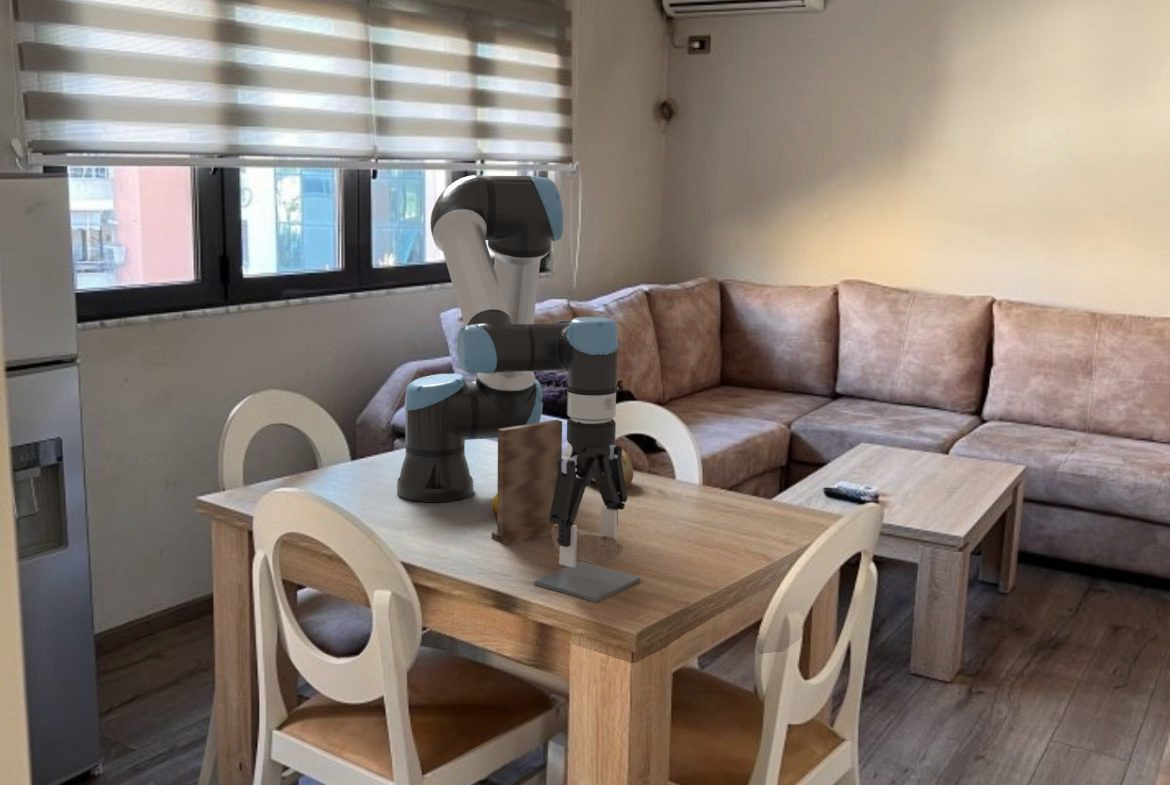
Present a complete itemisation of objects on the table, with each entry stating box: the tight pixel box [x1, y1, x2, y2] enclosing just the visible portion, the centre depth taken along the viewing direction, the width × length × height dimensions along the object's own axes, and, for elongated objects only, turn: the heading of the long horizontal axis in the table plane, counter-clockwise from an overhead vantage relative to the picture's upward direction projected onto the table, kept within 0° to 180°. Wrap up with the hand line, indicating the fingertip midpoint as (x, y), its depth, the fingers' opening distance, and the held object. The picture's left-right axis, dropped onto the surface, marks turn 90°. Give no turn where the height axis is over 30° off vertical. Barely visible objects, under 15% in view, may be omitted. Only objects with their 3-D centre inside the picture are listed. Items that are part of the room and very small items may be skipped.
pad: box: [533, 560, 642, 603], centre depth 186 cm, size 12×12×1 cm
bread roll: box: [591, 449, 634, 489], centre depth 243 cm, size 10×15×8 cm, turn 35°
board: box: [491, 419, 563, 546], centre depth 207 cm, size 13×5×20 cm, turn 131°
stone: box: [551, 524, 624, 563], centre depth 186 cm, size 9×11×5 cm
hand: (588, 556), depth 185 cm, fingers closed on stone, 10 cm apart
